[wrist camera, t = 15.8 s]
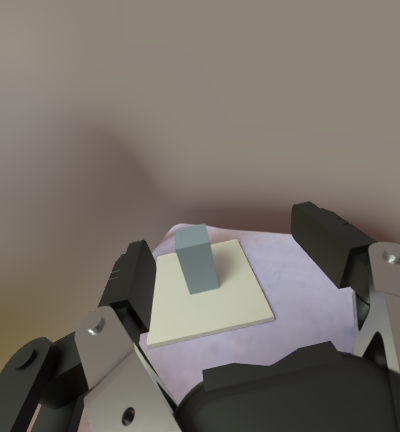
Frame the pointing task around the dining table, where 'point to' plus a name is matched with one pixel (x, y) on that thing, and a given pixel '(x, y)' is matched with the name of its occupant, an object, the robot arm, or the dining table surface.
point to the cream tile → (206, 299)
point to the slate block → (196, 258)
